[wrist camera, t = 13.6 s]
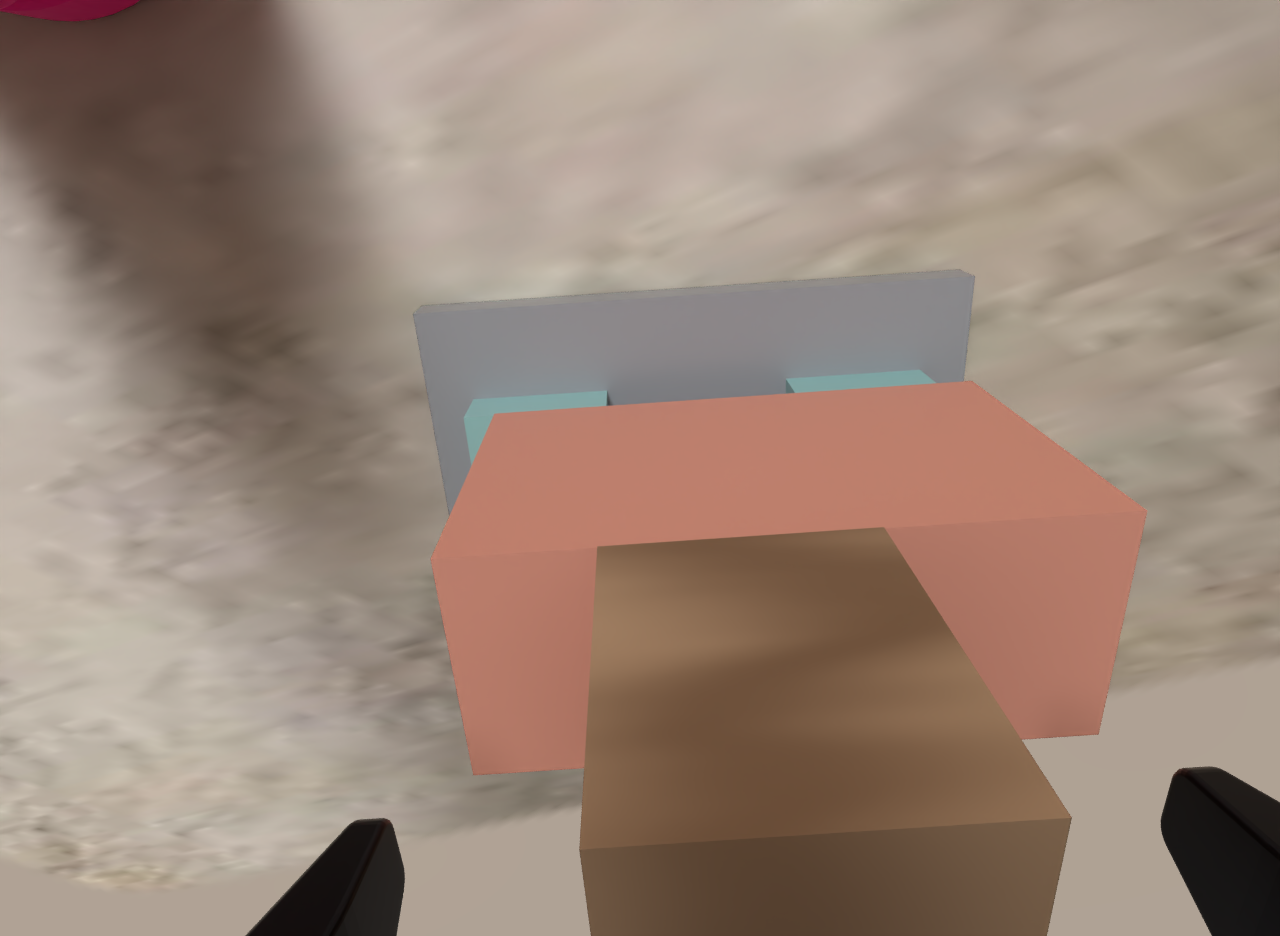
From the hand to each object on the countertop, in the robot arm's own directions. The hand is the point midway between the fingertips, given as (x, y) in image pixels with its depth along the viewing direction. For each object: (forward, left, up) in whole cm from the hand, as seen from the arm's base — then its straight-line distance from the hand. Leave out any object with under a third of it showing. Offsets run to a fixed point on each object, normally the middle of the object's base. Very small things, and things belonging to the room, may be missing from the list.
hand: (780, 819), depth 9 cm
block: (0, 0, -3) cm, 3 cm away
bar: (-1, 0, -9) cm, 9 cm away
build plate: (0, 0, -11) cm, 11 cm away
